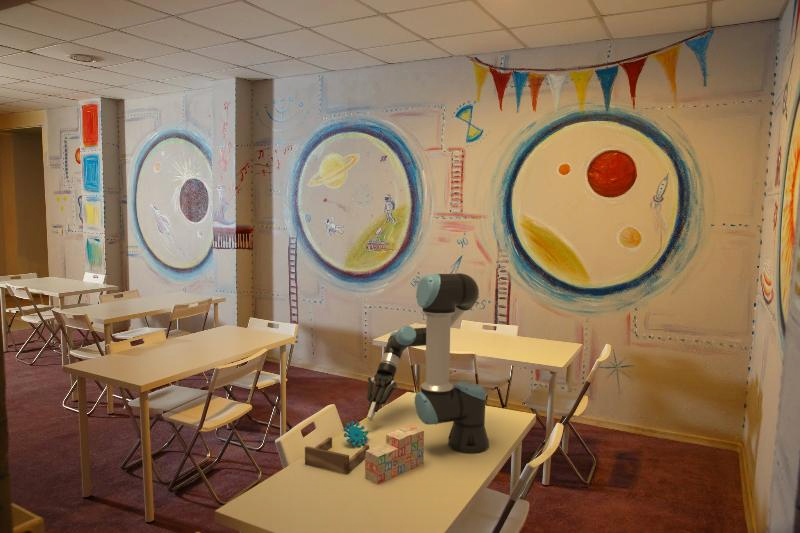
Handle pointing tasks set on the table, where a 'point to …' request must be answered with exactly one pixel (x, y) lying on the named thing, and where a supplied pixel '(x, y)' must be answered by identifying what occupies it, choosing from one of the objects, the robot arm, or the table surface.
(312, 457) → the wooden u-shaped enclosure
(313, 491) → the table surface
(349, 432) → the gear
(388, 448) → the stack of blocks
